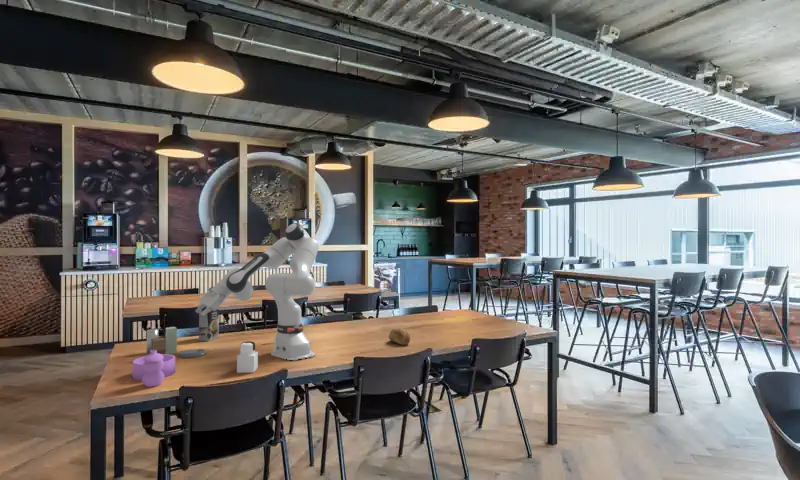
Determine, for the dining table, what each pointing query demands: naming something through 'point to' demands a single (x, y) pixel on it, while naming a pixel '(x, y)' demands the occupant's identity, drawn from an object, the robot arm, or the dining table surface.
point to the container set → (153, 368)
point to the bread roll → (399, 336)
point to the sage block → (171, 340)
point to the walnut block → (159, 345)
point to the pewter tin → (150, 335)
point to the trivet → (192, 353)
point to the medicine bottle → (247, 358)
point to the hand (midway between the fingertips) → (199, 313)
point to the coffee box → (209, 325)
